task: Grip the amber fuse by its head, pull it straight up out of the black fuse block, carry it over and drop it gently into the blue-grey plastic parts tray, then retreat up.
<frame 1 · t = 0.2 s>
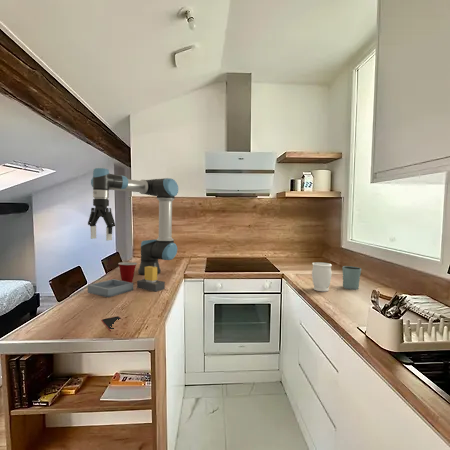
hand: (101, 239, 150), 28 cm above the counter, tool pointing down, fingers open, 13 cm apart
fuse block: (150, 288, 160), on the counter
jar: (321, 290, 165), on the counter
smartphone: (115, 325, 110), on the counter
teal tapered cup: (350, 288, 170), on the counter
fuse: (150, 277, 160), in the fuse block
parts tray: (111, 291, 153), on the counter
plastic cup: (127, 282, 173), on the counter
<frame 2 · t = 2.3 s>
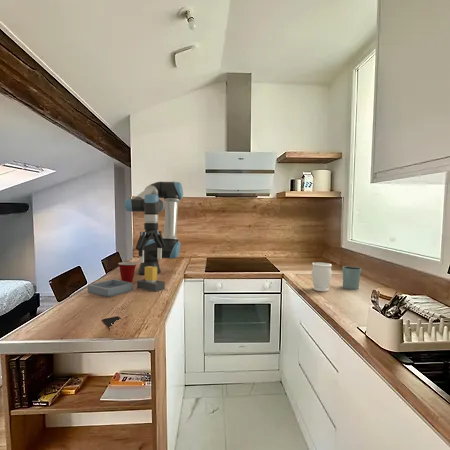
hand: (150, 260, 159), 15 cm above the counter, tool pointing down, fingers open, 13 cm apart
nothing on the counter moved.
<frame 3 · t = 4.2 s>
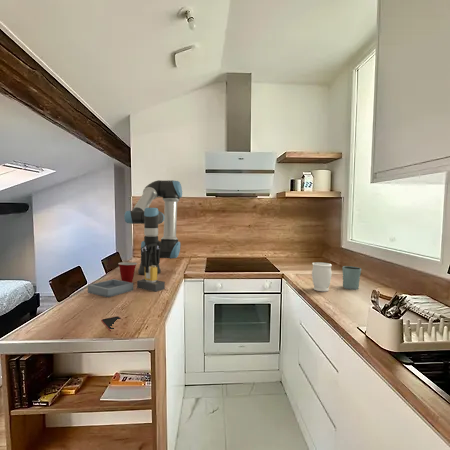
hand: (150, 277, 160), 6 cm above the counter, tool pointing down, fingers closed on fuse, 4 cm apart
fuse: (150, 277, 160), in the fuse block, touching gripper
everything else where it was.
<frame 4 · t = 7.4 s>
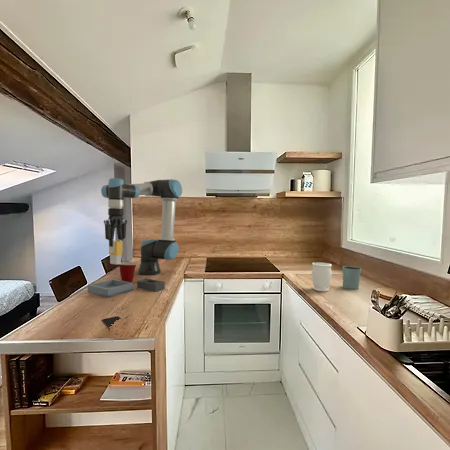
hand: (115, 252, 153), 21 cm above the counter, tool pointing down, fingers closed on fuse, 4 cm apart
fuse: (115, 252, 153), point 21 cm above the counter, touching gripper
everything else where it was.
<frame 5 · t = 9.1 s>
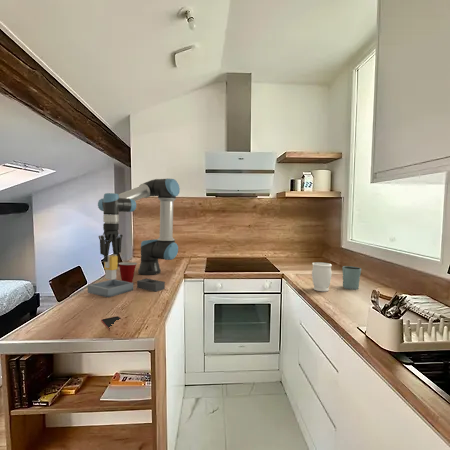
hand: (110, 267, 152), 13 cm above the counter, tool pointing down, fingers closed on fuse, 4 cm apart
fuse: (110, 267, 152), point 13 cm above the counter, touching gripper
everything else where it was.
when the fingers open (8 cm above the counter, at t = 10.7 s): fuse stays where it is, resting on parts tray.
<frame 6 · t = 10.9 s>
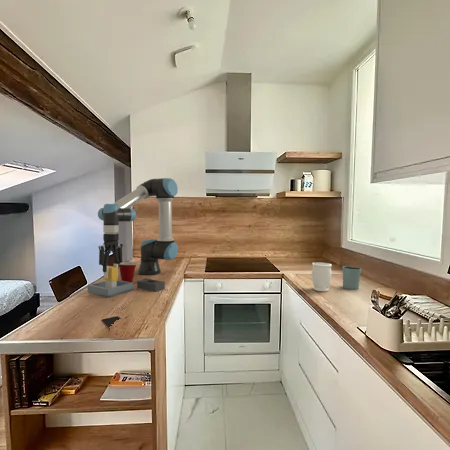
hand: (111, 276, 153), 8 cm above the counter, tool pointing down, fingers open, 5 cm apart
fuse: (111, 278, 153), in the parts tray, point 7 cm above the counter
everything else where it was.
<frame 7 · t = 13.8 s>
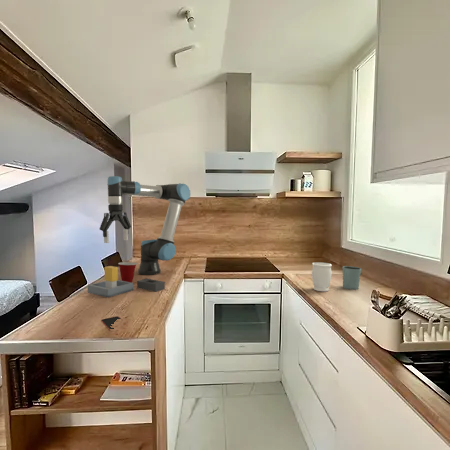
hand: (116, 241, 164), 25 cm above the counter, tool pointing down, fingers open, 13 cm apart
nothing on the counter moved.
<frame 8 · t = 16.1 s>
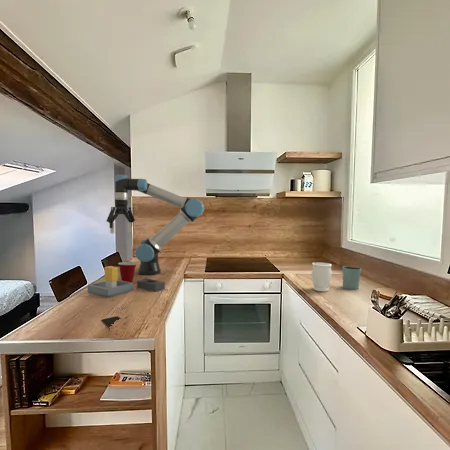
hand: (121, 232, 185), 29 cm above the counter, tool pointing down, fingers open, 13 cm apart
nothing on the counter moved.
at the end: fuse inside the target area on the parts tray (0.0 cm from its centre), point 7.0 cm above the parts tray's base; fuse moved 20.6 cm from its start; the gripper is holding nothing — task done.
